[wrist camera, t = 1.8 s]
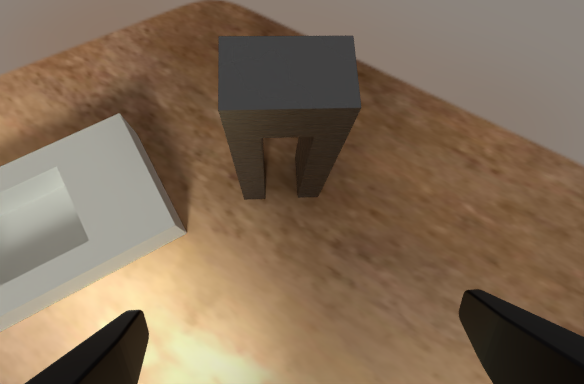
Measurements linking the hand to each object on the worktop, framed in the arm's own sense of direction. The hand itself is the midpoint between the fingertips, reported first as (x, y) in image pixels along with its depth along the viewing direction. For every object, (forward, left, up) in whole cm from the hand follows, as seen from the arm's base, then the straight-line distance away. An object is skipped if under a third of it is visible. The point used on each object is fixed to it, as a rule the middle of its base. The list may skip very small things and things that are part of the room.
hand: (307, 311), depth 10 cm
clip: (+6, +5, -13) cm, 16 cm away
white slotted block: (-8, +16, -13) cm, 22 cm away
